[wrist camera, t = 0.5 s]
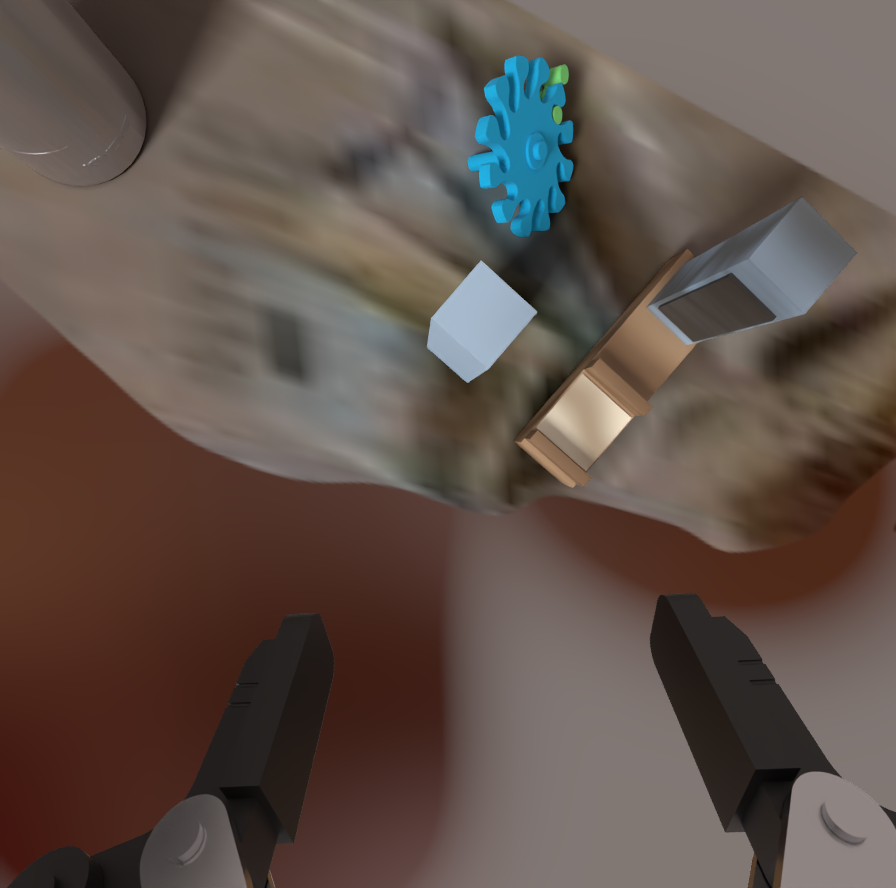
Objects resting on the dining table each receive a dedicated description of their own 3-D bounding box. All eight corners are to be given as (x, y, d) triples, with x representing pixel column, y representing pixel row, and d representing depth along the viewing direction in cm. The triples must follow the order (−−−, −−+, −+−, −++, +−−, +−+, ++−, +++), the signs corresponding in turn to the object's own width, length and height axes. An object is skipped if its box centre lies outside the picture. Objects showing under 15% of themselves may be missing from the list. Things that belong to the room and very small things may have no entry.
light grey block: (426, 347, 34) (431, 318, 24) (464, 303, 34) (484, 255, 24) (467, 382, 34) (488, 369, 24) (504, 339, 34) (541, 307, 24)
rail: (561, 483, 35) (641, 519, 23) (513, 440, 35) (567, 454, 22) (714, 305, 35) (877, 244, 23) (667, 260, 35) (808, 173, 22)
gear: (543, 267, 33) (471, 150, 25) (479, 267, 36) (399, 165, 29) (601, 138, 34) (549, -11, 26) (533, 150, 38) (470, 23, 30)
